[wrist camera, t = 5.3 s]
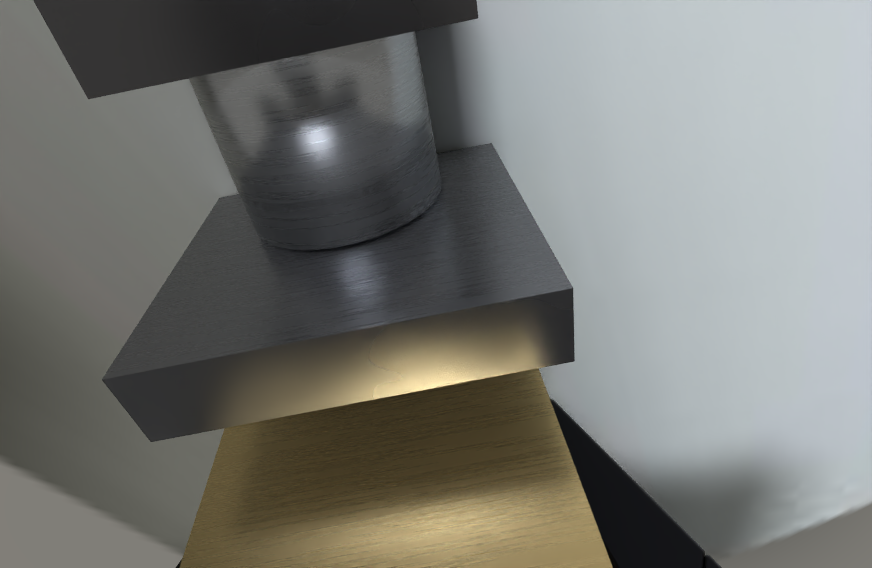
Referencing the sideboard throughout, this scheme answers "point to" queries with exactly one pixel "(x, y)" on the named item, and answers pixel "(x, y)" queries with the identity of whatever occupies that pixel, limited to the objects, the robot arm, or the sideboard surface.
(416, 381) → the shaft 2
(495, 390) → the block
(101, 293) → the sideboard surface
